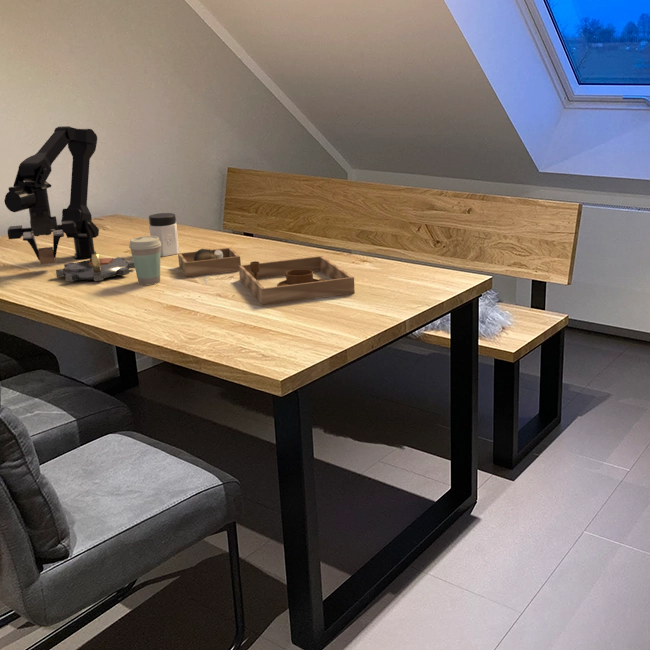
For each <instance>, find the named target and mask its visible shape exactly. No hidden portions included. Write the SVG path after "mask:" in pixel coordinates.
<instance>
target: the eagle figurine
mask: <svg viewBox="0 0 650 650" xmlns="http://www.w3.org/2000/svg"><path fill="white" fill-rule="evenodd" d="M211 250H212V249H210V248H208V249H207V248H200V249H198V250H196V251H197V252H196V251H195V252H196V253H195V255H194V258H193V259H194V261H201V260H210V259H218V258H223V252H222V251H220V250H215V252H214V254H212V252H211Z"/></svg>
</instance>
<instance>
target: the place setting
mask: <svg viewBox="0 0 650 650" xmlns="http://www.w3.org/2000/svg"><path fill="white" fill-rule="evenodd" d="M259 263H260V261H256V260H255V261H251V262H250V263H249V264H250V267H251V271H252V272H253V273H254V278H255V279H256V280H257V281H258V279H259V278H258V277H257V273H258V272H259V270H260V265H259ZM285 276H286V277H285V278H286V279H285V280H281V281H279V282H278V283H277V284H276V287H277V286H285V285H293V284H301V283H309V282H317V281H325V280H326V279H323V278H319V279H318V278H314V272H313V271H311V270H308V269H294V270H290V271H287V272H286V275H285Z"/></svg>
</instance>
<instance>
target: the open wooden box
mask: <svg viewBox="0 0 650 650" xmlns="http://www.w3.org/2000/svg"><path fill="white" fill-rule="evenodd" d="M210 250H211V252H212V254H214V252H215V250H220V251H222V252H223V258H218V259H210V260H201V261H194V259H193V258H194V255H195V253H196V252H197V251H198V250H196V251H189V252H178V254H177V255H178V258H177V259H178V267H179V269H180V271H181V272H182V273H183V275H184V276H185V277H186V278H188V277H198V276H206V274H207V275H215V273H216V274H221V273H231V272H239V266H240V265H242V263H241V256H240V255H239V254H238V253H237V251H235V250H234V249H233V248H232V247H226V248H225V247H224V248H216V249H210Z"/></svg>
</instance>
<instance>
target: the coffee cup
mask: <svg viewBox="0 0 650 650" xmlns="http://www.w3.org/2000/svg"><path fill="white" fill-rule="evenodd" d="M128 246H129V247H128V248H129V249H130V252H131V256H132V261H133V262H134V266H135V268H134V269H135V273H136V278H137V282H138V284H139V285H141V284H144V285H143V286H146V285H145V284H152V285H155V283H156V284H159V283H160V282H161V256H160V246H161V242H160V240H159V238H158V237H155V236H150V235H146V236H145V235H144V236H137V237H134V238H131V239H130V241H129V245H128ZM158 282H159V283H158Z"/></svg>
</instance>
